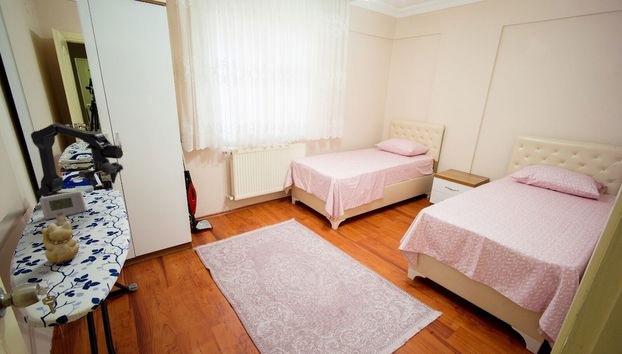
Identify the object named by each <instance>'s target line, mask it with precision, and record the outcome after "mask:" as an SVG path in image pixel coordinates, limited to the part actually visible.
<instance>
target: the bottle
mask: <svg viewBox="0 0 622 354" xmlns="http://www.w3.org/2000/svg"><path fill="white" fill-rule="evenodd" d="M55 219H56V222H57V223H58V226H62V225H63V224H64V223H65V222H67V218H66V216H65V214H63V212H59V213H57V215H56V218H55Z"/></svg>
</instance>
